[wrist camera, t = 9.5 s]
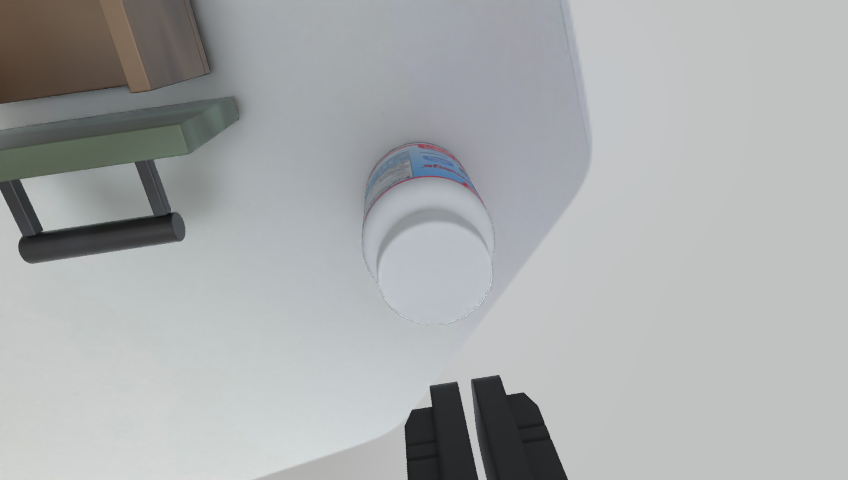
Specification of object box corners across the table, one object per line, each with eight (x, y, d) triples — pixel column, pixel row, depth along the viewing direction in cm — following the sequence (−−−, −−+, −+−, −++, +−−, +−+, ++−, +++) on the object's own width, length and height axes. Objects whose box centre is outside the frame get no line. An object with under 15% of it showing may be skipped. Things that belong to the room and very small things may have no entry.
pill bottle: (487, 194, 31) (542, 280, 20) (411, 256, 32) (427, 367, 22) (423, 117, 29) (449, 171, 18) (343, 186, 30) (326, 273, 20)
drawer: (261, 199, 29) (223, 257, 22) (40, 232, 28) (-72, 302, 21) (135, -261, 21) (8, -409, 14) (-174, -222, 20) (-469, -352, 13)
